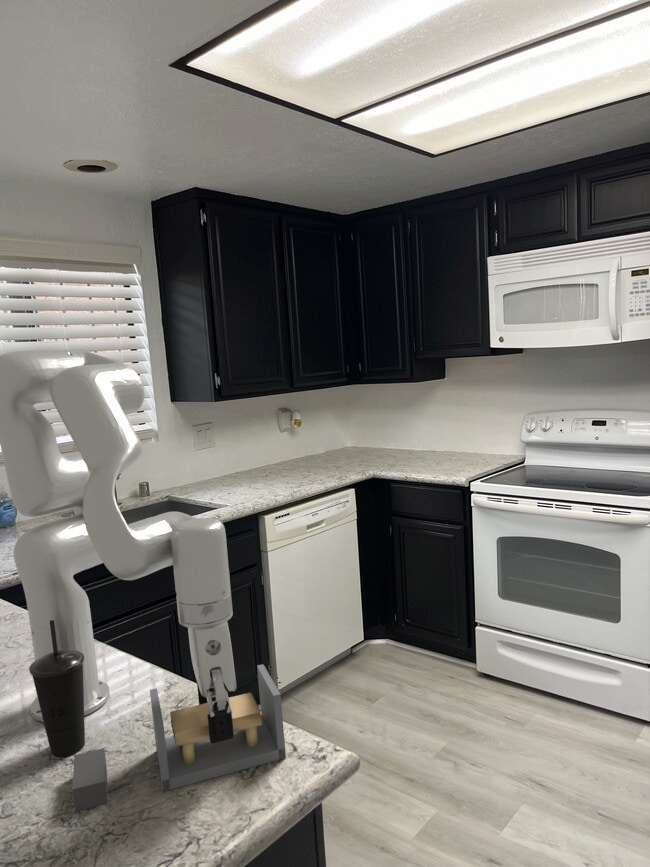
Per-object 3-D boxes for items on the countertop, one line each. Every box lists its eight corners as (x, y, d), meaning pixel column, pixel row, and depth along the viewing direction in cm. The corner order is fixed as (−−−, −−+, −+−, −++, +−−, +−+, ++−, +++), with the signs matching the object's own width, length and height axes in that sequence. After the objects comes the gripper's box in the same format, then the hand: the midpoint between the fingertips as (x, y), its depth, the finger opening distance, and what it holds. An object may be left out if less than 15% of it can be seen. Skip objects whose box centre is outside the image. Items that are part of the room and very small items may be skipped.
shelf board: (252, 704, 98) (251, 692, 98) (261, 725, 92) (260, 711, 92) (171, 724, 94) (169, 711, 94) (176, 747, 89) (174, 733, 88)
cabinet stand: (156, 750, 96) (149, 689, 95) (268, 722, 101) (263, 664, 100) (162, 791, 86) (155, 724, 85) (285, 757, 92) (280, 694, 91)
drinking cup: (40, 742, 100) (24, 617, 98) (92, 727, 103) (78, 607, 101) (40, 769, 93) (22, 636, 91) (96, 753, 96) (80, 623, 94)
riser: (76, 775, 91) (74, 755, 91) (106, 767, 93) (104, 748, 92) (75, 811, 84) (72, 789, 83) (107, 802, 85) (105, 781, 85)
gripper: (244, 624, 84) (255, 747, 86) (220, 583, 101) (230, 688, 103) (185, 636, 82) (198, 762, 84) (171, 592, 98) (181, 699, 100)
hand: (215, 721), depth 93 cm, fingers open, 9 cm apart
